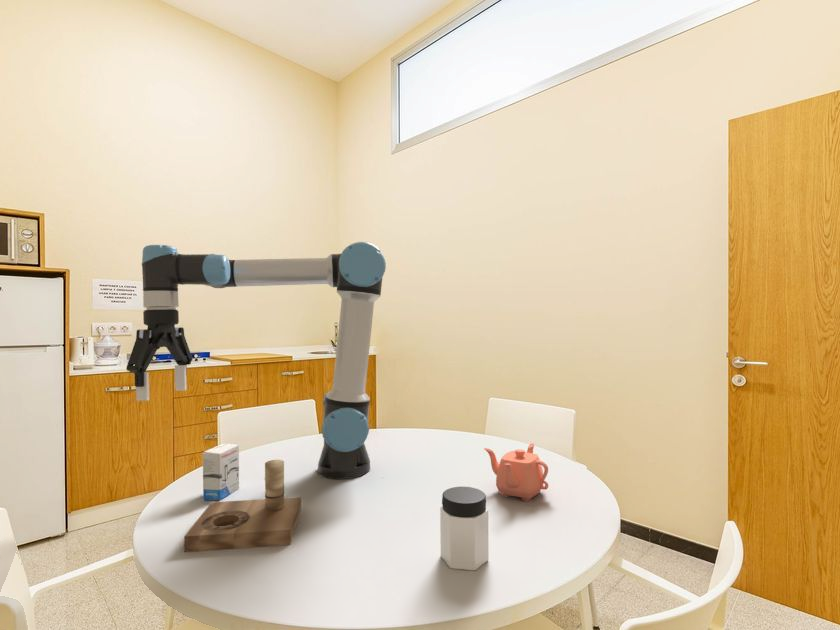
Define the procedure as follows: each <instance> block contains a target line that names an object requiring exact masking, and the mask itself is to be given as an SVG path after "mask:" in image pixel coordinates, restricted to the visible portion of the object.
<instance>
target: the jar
mask: <svg viewBox="0 0 840 630" xmlns="http://www.w3.org/2000/svg"><path fill="white" fill-rule="evenodd" d="M486 496H487V495H486V493H485V492H484V491H482V490H480V489H479V488H476V487H472V486H455V487H450V488H447V489H446V490H444V491H443V492H442V496H441V497H442V498H441V504H442V505H441V506H440V508H439V509H440V510H439V512H440V518H439V519H440V525H439V526H440V557H441V558H442V559H443V561H444V562H445V563H446V565H448V567H449V568H450V569H457V570H466V571H476V570H477V569H479V568H480V567H482V565H484V564H485V563H486V562H488V560H489V559H490V558H489V510H488V509H487V507H486V506H487V497H486Z"/></svg>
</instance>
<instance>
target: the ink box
mask: <svg viewBox="0 0 840 630" xmlns="http://www.w3.org/2000/svg"><path fill="white" fill-rule="evenodd" d="M239 448H240V447H239V444H233V443H221V444H219V445H216V446H214V447H211V448H209V449H207V450H205V451H204V452H202V486H203V487H202V491H203V493H202V494H203V497H202V499H203V500H209V501H210V500H212V501H222V500H224V499H225V498H226V497H228V496H229V495H231V494H233V493H234V492H236V491H238V490H239V488H240V449H239Z"/></svg>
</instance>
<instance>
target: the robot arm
mask: <svg viewBox="0 0 840 630" xmlns="http://www.w3.org/2000/svg"><path fill="white" fill-rule="evenodd" d="M386 265H387V264H386V259H385V256H384V254H383V253H382V251H381V250H380V248H379V247H377V246H376V245H375V244H373V243H370V242H366V241H357V242H353V243H351V244H349V245H348V246H345V248H344V249H343V250H342V251H341V253H333V254H332V253H331V254H329V255H328V256H327V257H312V258H311V257H309V258H307V257H303V258H301V257H300V258H266V259H265V258H263V259H262V258H261V259H254V258H253V259H229V258H228V256H227V255H225V254H215V253H209V254H202V253H201V254H197V253H196V254H184V253H183V254H181V253H178V249H177V247H176V246H172V245H166V244H162V245H161V244H149V245H145V246H144V247H143V248H142V261H141V268H142V269H141V270H142V271H141V272H142V291H143V292H142V293H143V295H142V296H143V297H142V298H143V299H142V301H143V306H142V307H143V308H146V309H144V310H143V313H142V315H143V317H142V318H143V325H144V326H147V329H144V328H143V329H142V328H141V329H136V334H135V335H136V337H135V342H134V344H133V348H132V350H131V352H130V356H129V358H128V363H127V366H126V371H127V372H129V373H131V374H133V375H134V387H135V400H136V402H149V401H150V376H149V375H150V373H149V372H148V371H147V370H148V368H149V366H150V363H151V362H152V360H153V358H154V356H155V355H156V353H157V351H158V350H159V349H161V348H164V347H165V348H166V349H167V351H168V352H169V354H170V355H171V356H172V358H173V359H174V361H175V363H176V364H175V365H174V391H178V392H179V391H183V392H184V391H187V390H188V389H187V387H188V386H187V374H188V371H187V370H188V369H187V368H188V366H189V365H191V364H192V361H193V356H192V354H191V350H190V348H189V346H188V342H187V339H186V337H185V336H186V335H185V328H184V327H179V326H178V327H175V326H176V325H178V324H179V322H180V321H179V320H180V319H179V316H180V315H179V314H180V313H179V311H178V309H177V308H178V307H179V306H180V304H179V288H178V287H179V285H180V286H181V285H194V286H195V285H203V286H207V287H212V288H213V289H225V288H236V287H237V288H238V287H267V286H268V287H269V286H271V287H272V286H293V285H294V286H298V285H299V286H301V285H302V286H304V285H306V286H307V285H329V286H330V287H331V288H336V293H337V295H338V296H339V297H340V298H341V302H340V313H339V322H338V330H337V331H338V332H337V341H336V351H335V360H334V362H335V363H334V371H333V381H332V389H331V390H330V391H329V392H326V393H324V396H323V401H322V404H323V419H322V424H321V434H322V438H323V446H322V449H321V454H320V457H319V460H318V462H317V473H318V475H320V476H322V477H324V478H328V479H335V480H336V479H337V480H338V479H342V480H343V479H352V478H357V477H360V476H363V475H365V474H368V472H370V469H371V460H370V457H369V453H368V451H367V448H366V444H365V442H366V440H367V439H368V435H369V432H370V423H369V422H370V421H369V414H370V413H369V412H370V402H371V401H370V400H371V398H370V396H369V395H368V394H367V393H366V384H367V376H368V375H367V374H368V367H369V366H368V365H369V359H370V358H369V355H370V348H371V347H370V346H371V337H372V328H373V317H374V307H375V302H376V301H377V300H378V299H379V298H381V295H382V287H383V277H384V275H385V272H386V268H387V266H386Z"/></svg>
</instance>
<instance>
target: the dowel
mask: <svg viewBox="0 0 840 630" xmlns="http://www.w3.org/2000/svg"><path fill="white" fill-rule="evenodd" d="M264 472H265V473H264V485H265V488H264V489H265V490H264V497H265V498H264V499H265V509H266V510H267V511H279V510H281V509H283V508H284V498H285V461H284V460H282V459H271V460H267V461H266V462H265V463H264Z"/></svg>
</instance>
